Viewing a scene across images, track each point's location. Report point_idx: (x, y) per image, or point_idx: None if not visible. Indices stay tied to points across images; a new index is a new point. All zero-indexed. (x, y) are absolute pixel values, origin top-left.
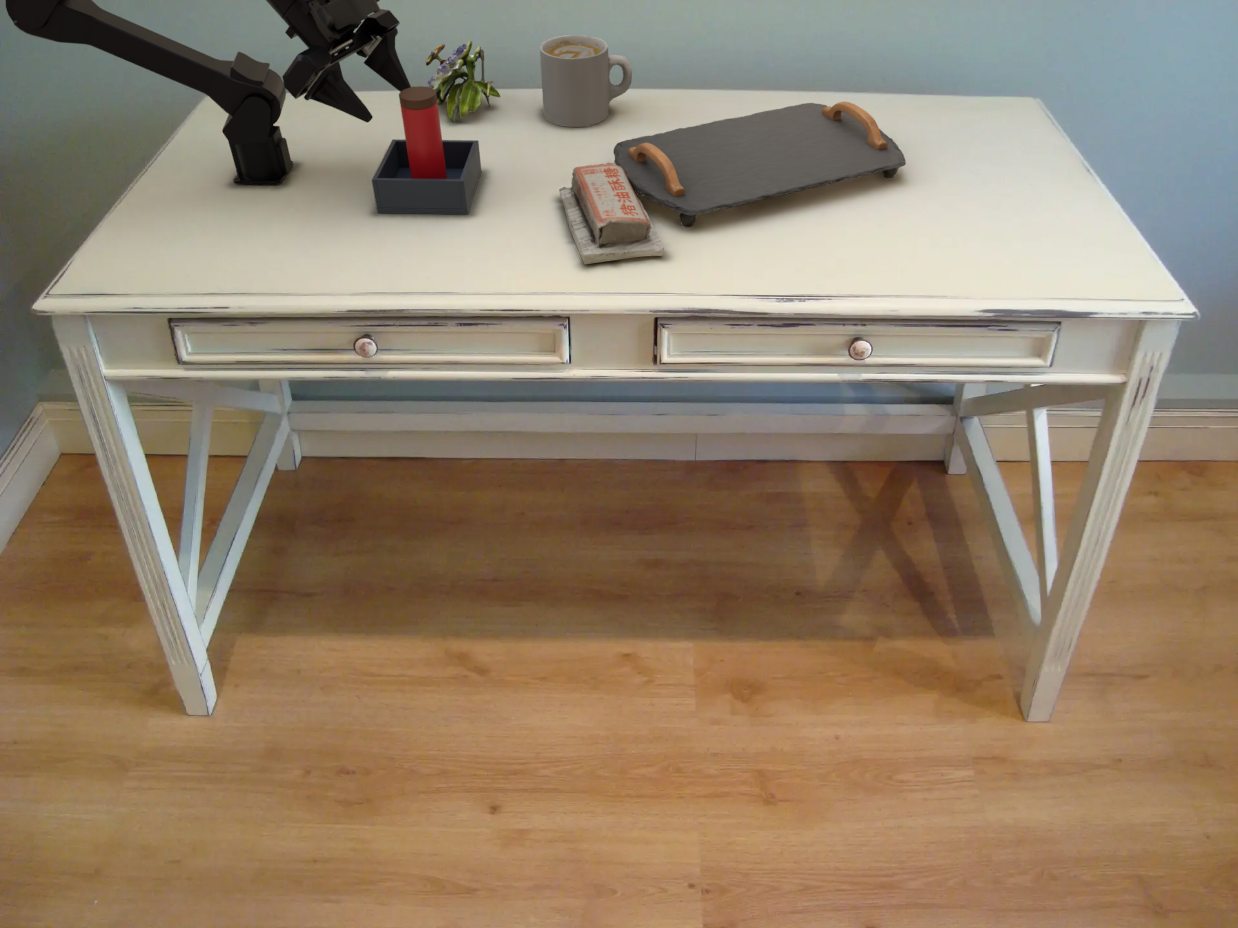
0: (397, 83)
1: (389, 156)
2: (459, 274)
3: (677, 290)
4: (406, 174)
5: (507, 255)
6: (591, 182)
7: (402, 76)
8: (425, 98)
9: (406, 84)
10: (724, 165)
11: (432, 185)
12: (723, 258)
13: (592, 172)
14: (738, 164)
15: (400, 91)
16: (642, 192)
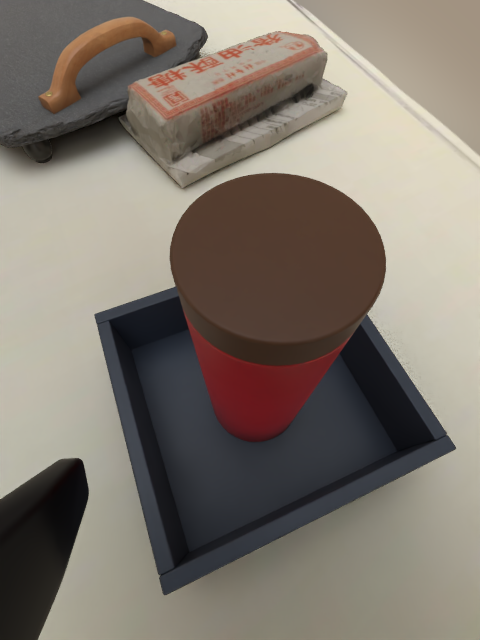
0: (37, 583)
1: (280, 515)
2: (464, 210)
3: (328, 44)
4: (221, 501)
5: (376, 183)
6: (211, 86)
7: (5, 527)
8: (315, 183)
9: (55, 485)
10: (65, 31)
11: None
12: (247, 34)
13: (176, 93)
14: (58, 23)
15: (68, 553)
16: None
